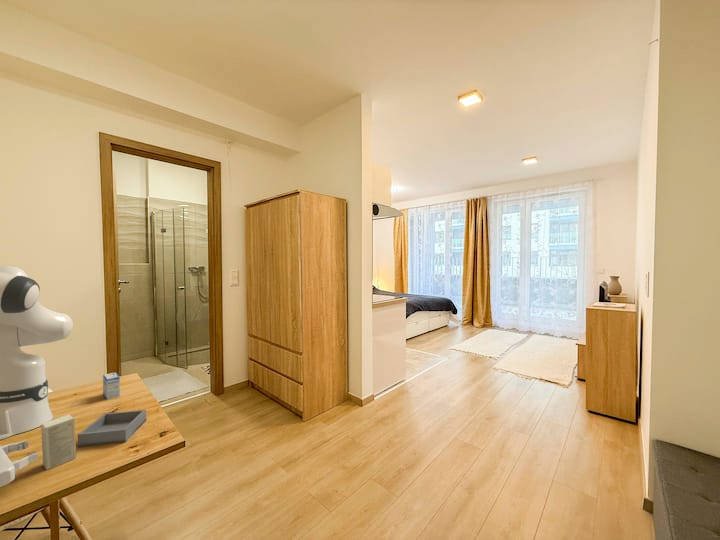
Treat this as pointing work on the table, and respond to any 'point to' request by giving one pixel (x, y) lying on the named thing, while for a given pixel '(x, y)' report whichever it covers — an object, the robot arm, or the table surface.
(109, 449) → the table surface
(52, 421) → the skincare box
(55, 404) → the table surface
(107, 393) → the medicine box
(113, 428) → the tray
